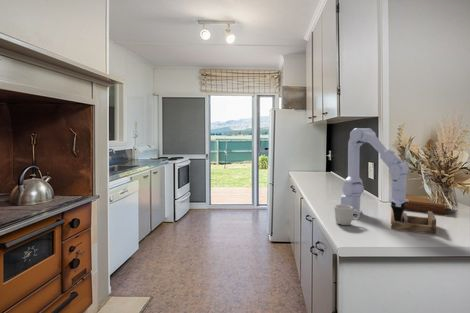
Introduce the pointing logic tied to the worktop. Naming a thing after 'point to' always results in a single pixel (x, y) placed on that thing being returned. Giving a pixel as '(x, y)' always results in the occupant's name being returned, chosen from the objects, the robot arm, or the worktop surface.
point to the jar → (394, 219)
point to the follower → (405, 218)
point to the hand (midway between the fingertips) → (397, 219)
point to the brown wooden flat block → (423, 205)
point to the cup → (345, 214)
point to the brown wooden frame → (417, 224)
